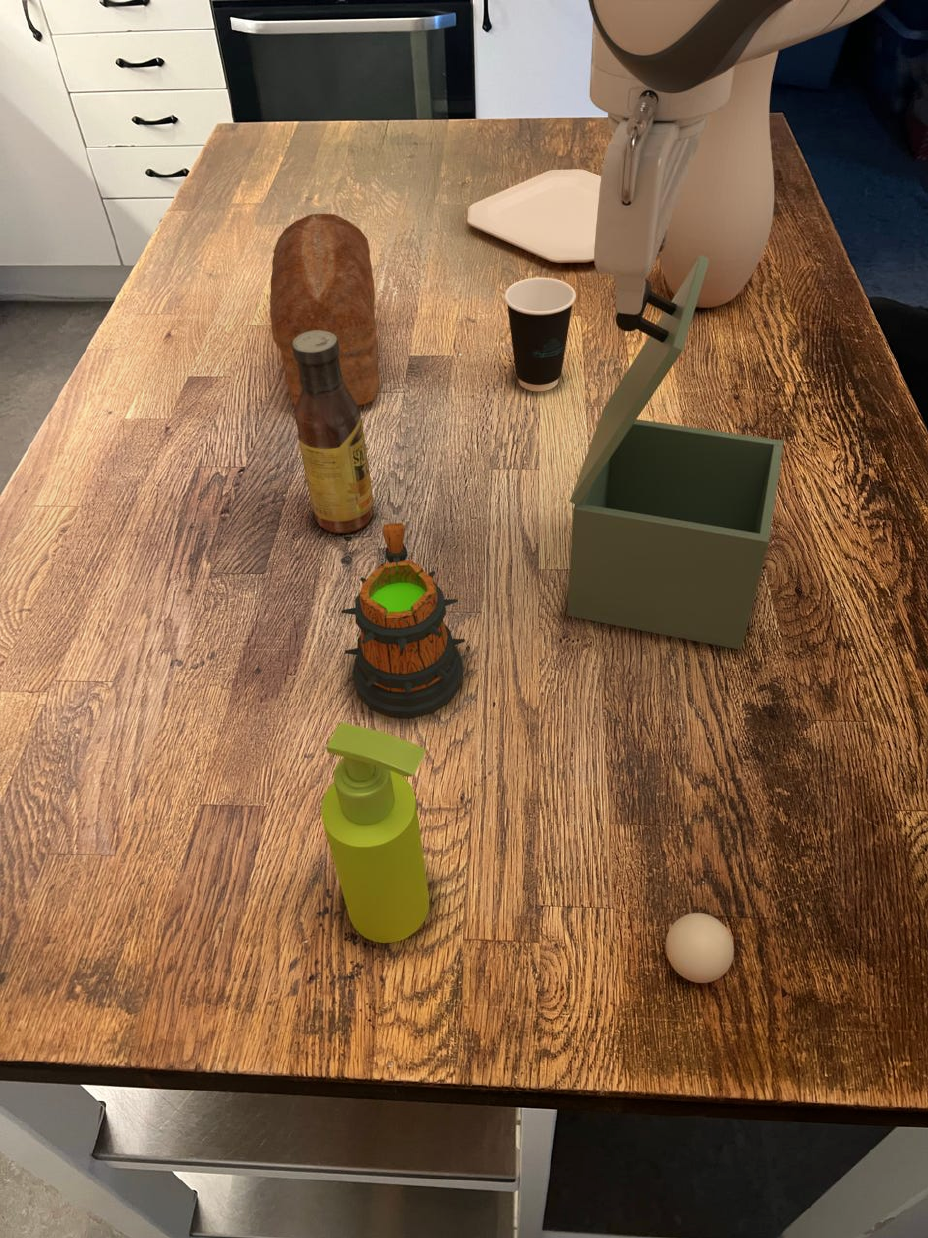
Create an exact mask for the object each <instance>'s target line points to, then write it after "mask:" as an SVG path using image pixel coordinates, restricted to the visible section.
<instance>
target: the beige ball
mask: <svg viewBox="0 0 928 1238" xmlns="http://www.w3.org/2000/svg"><path fill="white" fill-rule="evenodd" d="M734 949H735V946H734V941H733V938H732V935H731V934H730V931H729V930H728V928H727V927H726V926H725V925H724V923H723V922H722V921H720V920H719V919H717V918H716V917H714V916H712V915H710V914H707V913H703V912H693V913H692V912H691V913H687V914H685V915H682V916H681V917H680V918H677V920H675V921H674V922H673V924H671V926H670V928H669V929H668V932H667V934H666V938H665V953H666V957H667V960H668V962H669V963H670V965H671V967H672V969H673V970H674V971H675V972H676V973H677V974H678V975H679V976H680V977H682V978H684V979H685V980H687V981H689V982H693V983H697V984H707V983H711V982H715V981H717V980H719V979H721V978H722V977H723V976H724V975H725V974H726V973H727V972H728V971H729V969H730V967H731V966H732V963H733V960H734V956H735V950H734Z"/></svg>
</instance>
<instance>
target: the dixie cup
mask: <svg viewBox="0 0 928 1238" xmlns="http://www.w3.org/2000/svg"><path fill="white" fill-rule="evenodd" d="M503 298H504V302H505V303H506V305H507V312H508V313H507V314H508V323H509V329H510V337H511V338H510V339H511V345H512V354H513V361H514V362H513V363H514V369H515V375H516V378H517V381H518V385H520V386H521V387H522V388H523V389H525V390H527V391H531V392H546V391H549V390H552V389H554V388H555V387H557V385H558V383H559V380H560V378H561V376H562V372H563V366H564V360H565V355H566V354H565V353H566V347H567V341H568V335H569V329H570V323H571V316H572V309H573V304H574V303H575V301H576V299H577V294H576V291H575V289H574V287H572V286H571V285H570V284H569V283H567V282H565V281H563V280H560V279H557V278H553V277H542V276H541V277H531V278H525V279H521V280H519V281H516V282H514V283H512V284H511V285H510V286H509V287H507V288H506V290H505V291H504V296H503Z"/></svg>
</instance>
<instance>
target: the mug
mask: <svg viewBox="0 0 928 1238" xmlns="http://www.w3.org/2000/svg"><path fill="white" fill-rule="evenodd" d="M381 531H382V536H383V538H384V541H385V544H386V548H385V550H384V554H385V559H386V560H387V562H385V563H381V564H380V565H379V566H378V567H377V568H376V569H375V570H374V571H373V572H372V573H371V574H370V575H369V576H368V577H367V578H365V577H362V576H361V577H360V579H359V581H360V582H361V583H362V585H361V589H360V591H359V593H358V595H357V596H356V597H355V599H354V606H355V607H350V608H345V609H341V614H346V615H354V617H355V619H354V621H355V624H356V625H357V627H358V628H359V630H360V635H359V636H358V637H357V640H356V641H357V647H356V648H355V647H354V648H351V649H345V650H344V654H345V655H352V656H356V657H355V660H354V665H353V668H352V673H351V674H352V678H353V683H354V687H355V690H356V693H357V697H359V699H360V700H361V701H362V702H363V703H364V704H365V705H366V706H367V707H368V708H369V709H370V710H372V711H374V712H377V713H379V714H381V715H383V716H387V717H389V718H398V719H399V718H400V719H401V718H402V719H414V718H418V717H421V716H426V715H430V714H433V713H435V712H436V711H438V710H439V709H441V708H442V707H444V706H445V705H447V704H449V703H450V702H451V701H452V700H453V699H454V697H455V695H456V694H457V692H458V691H459V690H460V688H461V687H462V683H463V674H464V662H463V659H462V656H461V654H460V652H459V649H458V647H457V645H460V644H461V645H462V644H463V643H466V639H465V638H453V635H452V632H451V631H452V630H451V629H450V628H449V627H448V626H447V625H446V624H445V617H446V615H447V608H446V607H448V606H450V605H453V604H457V603H459V599H458V598H445V595H444V592H443V590H442V589H441V588H440V587H439V586H438V584H437V582H435V581H434V579H433V578H434V577H435V575H436V571H435V570H432V571H430V572H429V573H427V572H426V571H425V570H424V569H423V568H422V567H421V566H419V564H416V563H415V562H414V561H412V560H411V559H407V558H408V549H407V547H406V546H405V545H404V541H405V536H406V535H405V534H406V527H405V525H404V523H403V522H392V523H385V524H383V526H382V529H381Z"/></svg>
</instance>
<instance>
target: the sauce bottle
mask: <svg viewBox="0 0 928 1238" xmlns="http://www.w3.org/2000/svg"><path fill="white" fill-rule="evenodd" d="M292 347H293V353H294V357H295V359H296V361H297V363H298V367H299V373H300V378H301V379H300V384H301V386H302V391H301V393H300V395H299V398H298V400H297V401H296V405H294V421H295V424H296V427H297V432H298V433H297V437H298V439H297V440H298V445H299V448H300V454H301V459H302V463H303V468H304V474H305V479H306V483H307V488H308V489H307V490H308V493H309V498H310V502H311V507H312V510H313V511H312V512H314V518H315V520H316V522H317V524H318V525H319V526H320V527H321V528H323V529H324V530H325V531H327V532H330V533H334V534H347V533H352V532H357V531H359V530H361V529H362V528H364V527H365V526H366V525H367V524H368V523H369V522H370V521H371V520H372V517H373V515H374V494H373V488H372V486H373V485H372V481H371V474H370V467H369V466H370V465H369V460H368V459H369V458H368V453H367V451H368V450H367V446H366V445H367V444H366V440H365V431H364V425H363V424H364V423H363V417H362V413H361V409H360V407H359V406H358V405H357V404H356V402H355V400H354V399H353V397H352V395H351V394H350V392H349V390H348V389H347V387H346V385H345V383H344V381H343V380H342V374H341V371H340V363H339V358H338V355H339V345H338V340H337V337H336V336H335V335H334V334H332V333H330V332H327V331H322V330H313V331H308V332H305V333H302V334H301V335H299V336H297V337H296V338H295V339H294V340H293V343H292Z"/></svg>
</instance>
